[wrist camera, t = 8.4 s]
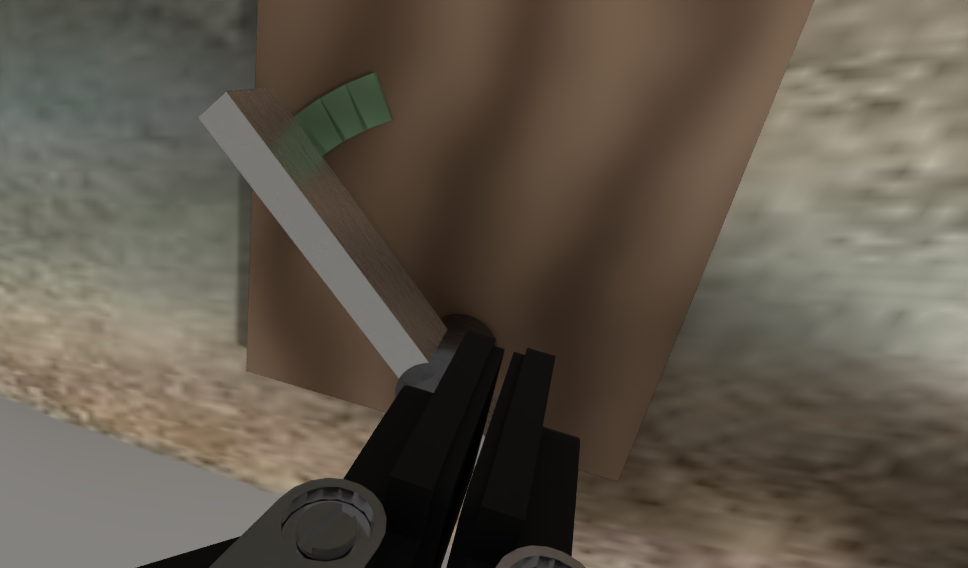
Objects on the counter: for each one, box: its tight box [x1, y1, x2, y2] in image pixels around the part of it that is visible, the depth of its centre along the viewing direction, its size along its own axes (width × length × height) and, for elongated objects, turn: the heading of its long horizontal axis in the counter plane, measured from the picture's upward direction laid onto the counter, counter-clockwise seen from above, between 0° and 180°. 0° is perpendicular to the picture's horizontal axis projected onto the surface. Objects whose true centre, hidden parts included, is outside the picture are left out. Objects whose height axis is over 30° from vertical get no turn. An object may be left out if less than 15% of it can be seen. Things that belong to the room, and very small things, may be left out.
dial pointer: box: [198, 87, 498, 466], centre depth 24 cm, size 18×4×5 cm, turn 35°
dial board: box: [246, 0, 814, 481], centre depth 25 cm, size 21×23×2 cm
